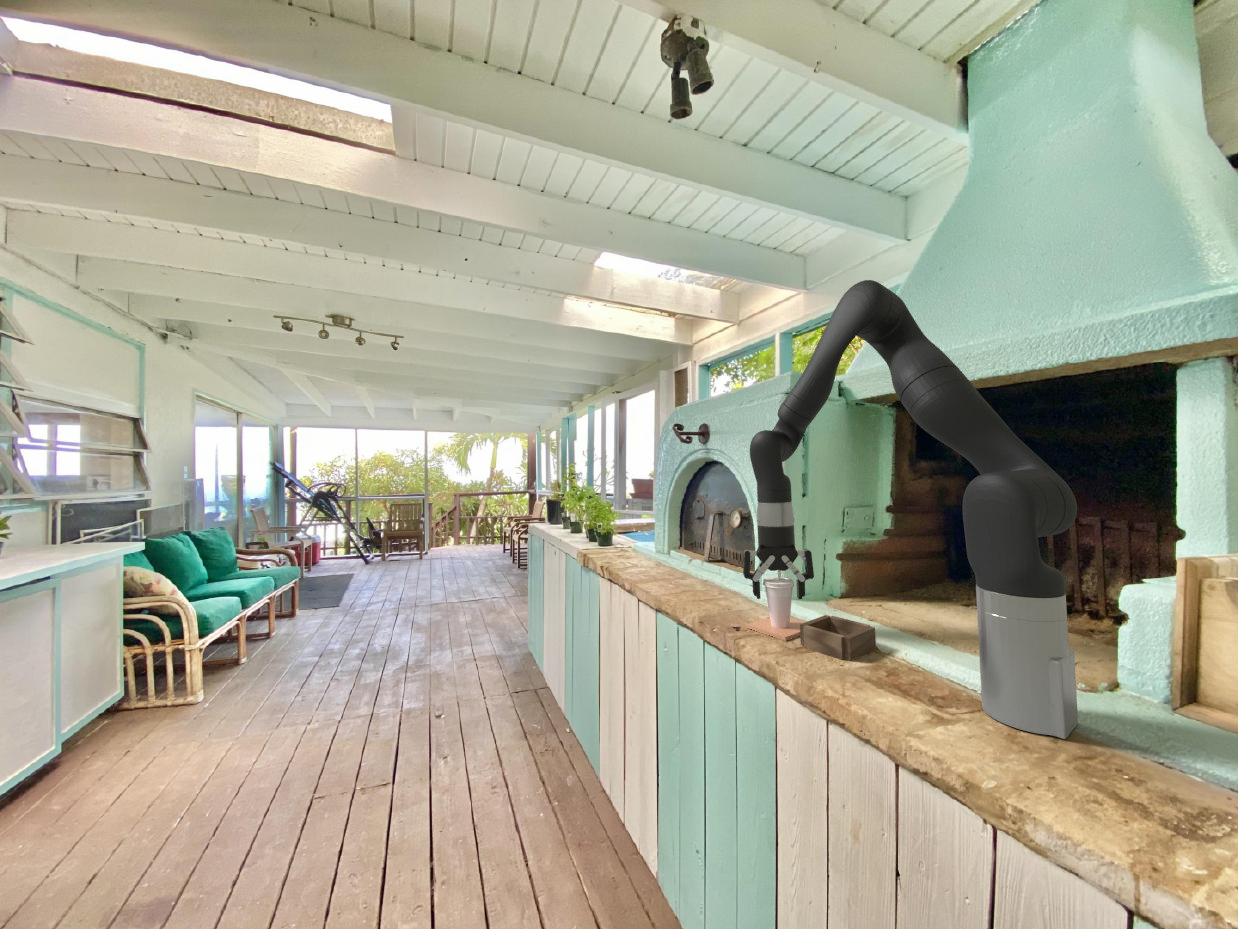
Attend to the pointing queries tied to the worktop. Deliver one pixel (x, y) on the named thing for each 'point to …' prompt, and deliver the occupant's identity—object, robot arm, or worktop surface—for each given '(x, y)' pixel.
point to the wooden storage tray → (838, 637)
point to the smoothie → (779, 599)
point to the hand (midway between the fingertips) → (778, 598)
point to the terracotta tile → (776, 629)
